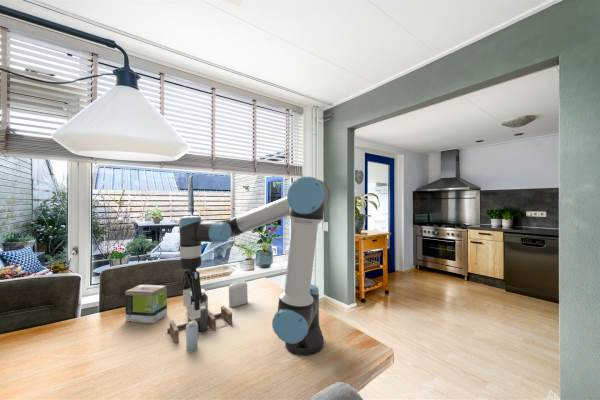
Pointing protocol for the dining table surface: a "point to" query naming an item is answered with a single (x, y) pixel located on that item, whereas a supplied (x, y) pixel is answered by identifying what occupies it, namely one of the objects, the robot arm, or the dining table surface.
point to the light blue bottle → (191, 336)
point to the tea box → (146, 303)
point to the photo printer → (238, 294)
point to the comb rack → (211, 323)
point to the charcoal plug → (203, 320)
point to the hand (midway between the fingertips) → (191, 311)
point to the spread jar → (202, 302)
